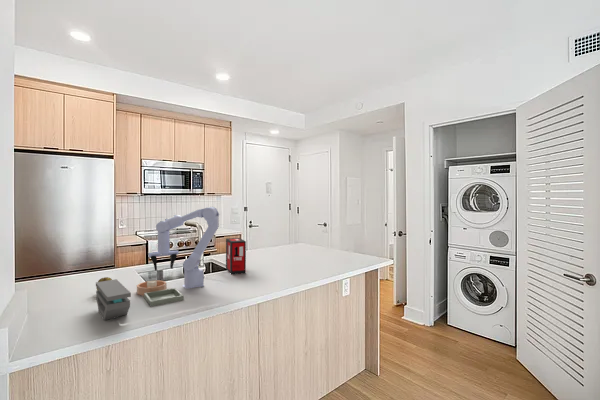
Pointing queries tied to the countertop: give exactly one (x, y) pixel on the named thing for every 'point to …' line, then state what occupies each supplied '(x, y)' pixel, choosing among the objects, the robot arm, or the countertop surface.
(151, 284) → the cream rounded capsule
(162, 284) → the bowl
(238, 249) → the cleaning product box
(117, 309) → the grey storage case
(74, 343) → the countertop surface
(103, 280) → the potato
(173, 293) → the parts tray
